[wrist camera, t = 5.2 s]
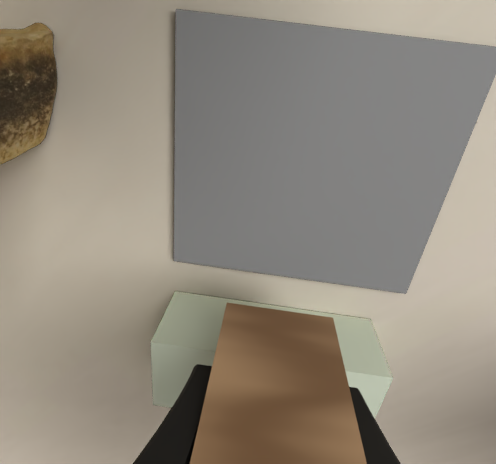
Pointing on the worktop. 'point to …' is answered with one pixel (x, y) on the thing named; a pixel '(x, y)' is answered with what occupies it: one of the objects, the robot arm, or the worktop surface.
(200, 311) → the pale green rectangular block
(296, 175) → the mat
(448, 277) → the worktop surface
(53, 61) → the rock
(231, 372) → the walnut block
